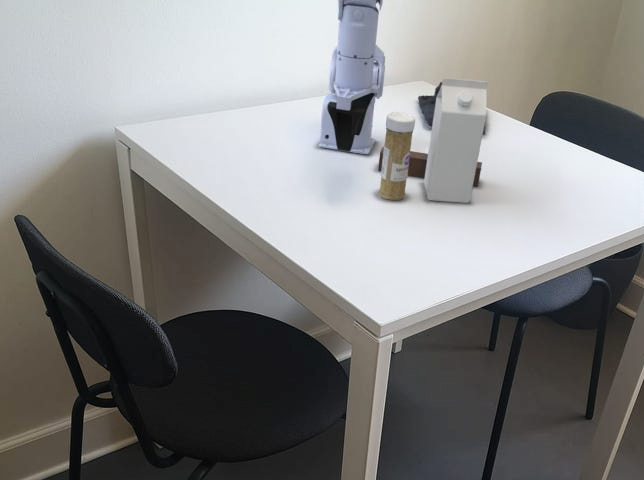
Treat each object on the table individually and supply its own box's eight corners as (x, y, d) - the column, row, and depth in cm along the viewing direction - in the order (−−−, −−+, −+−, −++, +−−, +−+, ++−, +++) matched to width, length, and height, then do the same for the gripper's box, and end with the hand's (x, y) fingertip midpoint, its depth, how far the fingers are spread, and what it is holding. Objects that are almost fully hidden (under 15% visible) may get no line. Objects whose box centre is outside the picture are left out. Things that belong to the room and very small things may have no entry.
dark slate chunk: (413, 130, 147) (416, 107, 145) (417, 98, 165) (420, 77, 162) (487, 139, 147) (491, 116, 144) (483, 107, 165) (487, 85, 162)
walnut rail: (377, 171, 128) (379, 152, 126) (380, 165, 131) (382, 146, 129) (477, 187, 127) (481, 168, 125) (478, 180, 129) (482, 162, 127)
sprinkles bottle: (400, 203, 118) (411, 122, 110) (374, 197, 119) (383, 116, 111) (408, 193, 122) (418, 114, 114) (382, 187, 123) (391, 108, 115)
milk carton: (423, 183, 126) (440, 71, 114) (463, 186, 126) (483, 75, 115) (427, 201, 120) (445, 84, 109) (469, 204, 121) (491, 88, 109)
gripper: (373, 69, 102) (364, 161, 110) (389, 46, 114) (380, 131, 122) (325, 62, 103) (320, 154, 111) (346, 40, 114) (340, 124, 122)
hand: (348, 141), depth 116 cm, fingers open, 7 cm apart
